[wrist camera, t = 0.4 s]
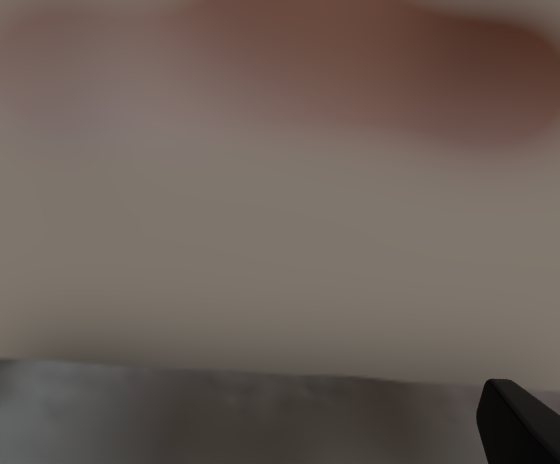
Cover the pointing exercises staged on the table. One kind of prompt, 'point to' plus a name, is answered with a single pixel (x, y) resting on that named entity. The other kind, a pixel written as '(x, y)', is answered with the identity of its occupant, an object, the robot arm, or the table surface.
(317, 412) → the table surface
